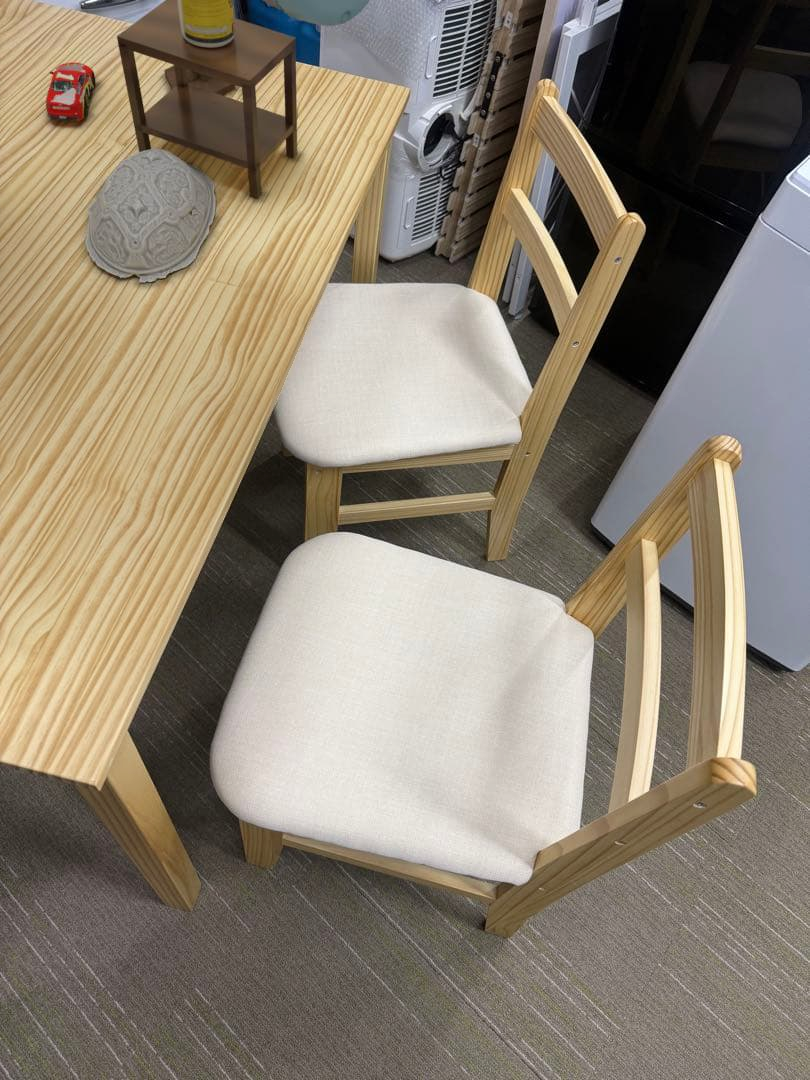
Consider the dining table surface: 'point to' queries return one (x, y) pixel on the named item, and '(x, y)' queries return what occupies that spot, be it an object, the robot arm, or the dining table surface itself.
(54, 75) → the race car
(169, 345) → the dining table surface
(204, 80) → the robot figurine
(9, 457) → the dining table surface
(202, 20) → the pill bottle
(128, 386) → the dining table surface
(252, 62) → the rack
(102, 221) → the grey domed shell
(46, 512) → the dining table surface
